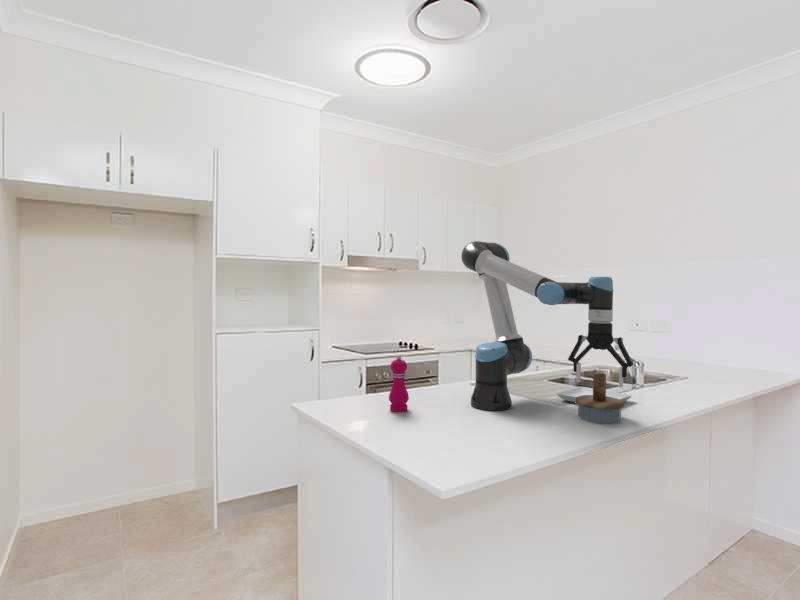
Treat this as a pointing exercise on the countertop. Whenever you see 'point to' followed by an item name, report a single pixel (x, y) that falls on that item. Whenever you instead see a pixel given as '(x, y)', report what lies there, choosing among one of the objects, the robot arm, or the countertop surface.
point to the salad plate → (580, 391)
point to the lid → (599, 395)
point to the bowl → (599, 415)
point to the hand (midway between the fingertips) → (599, 384)
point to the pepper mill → (398, 386)
